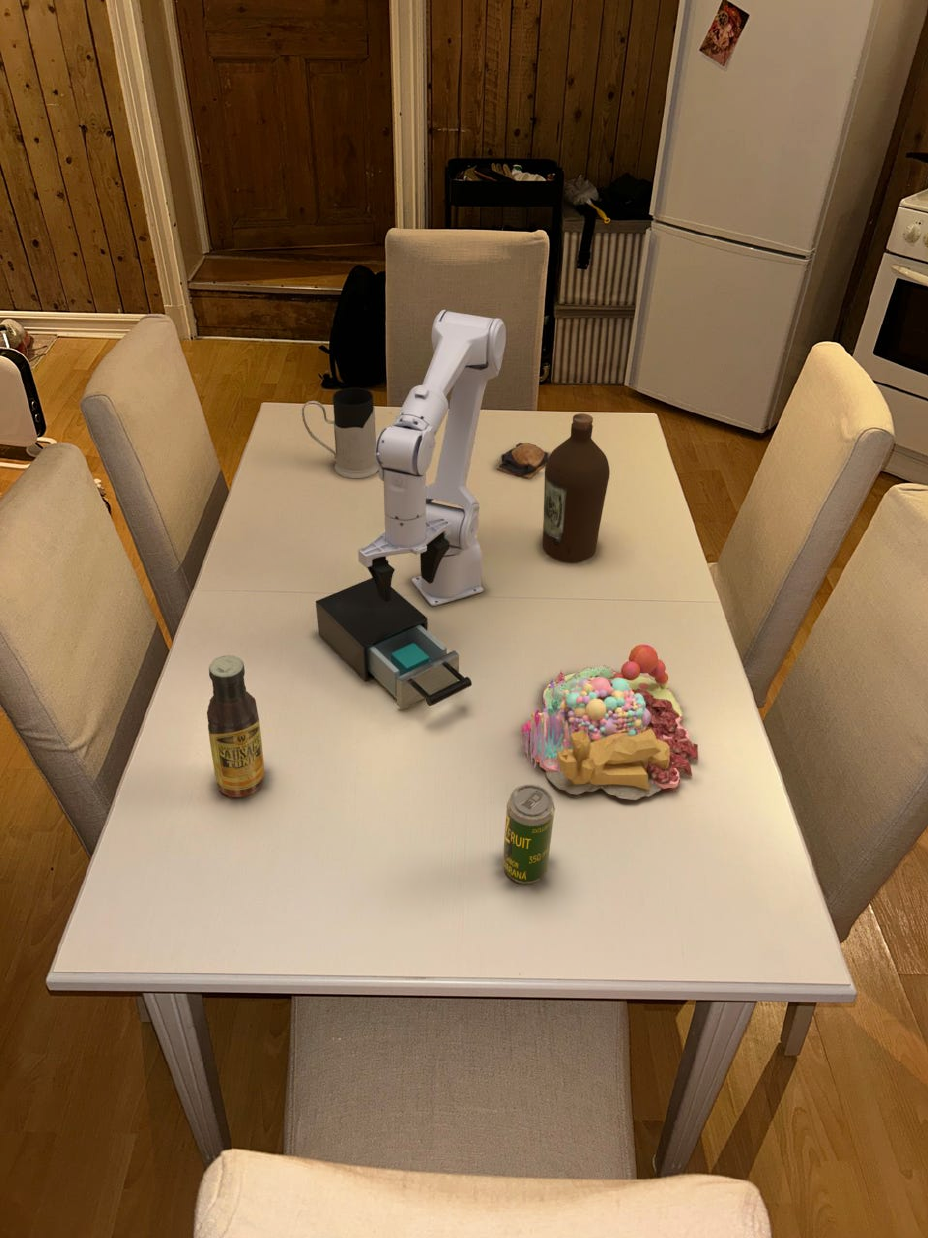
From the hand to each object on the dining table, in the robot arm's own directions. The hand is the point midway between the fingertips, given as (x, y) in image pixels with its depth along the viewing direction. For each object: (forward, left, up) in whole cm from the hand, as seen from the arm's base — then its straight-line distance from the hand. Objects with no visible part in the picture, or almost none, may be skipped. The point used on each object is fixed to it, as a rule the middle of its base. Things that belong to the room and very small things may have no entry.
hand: (406, 589), depth 140 cm
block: (+3, +8, -9) cm, 12 cm away
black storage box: (+5, -2, -10) cm, 12 cm away
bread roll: (-44, -40, -11) cm, 61 cm away
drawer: (+3, +9, -10) cm, 13 cm away
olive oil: (-36, -11, -11) cm, 39 cm away
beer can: (+5, +44, -11) cm, 45 cm away
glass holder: (-11, -54, -11) cm, 56 cm away
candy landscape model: (-16, +30, -11) cm, 36 cm away
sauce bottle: (+31, +16, -11) cm, 36 cm away
